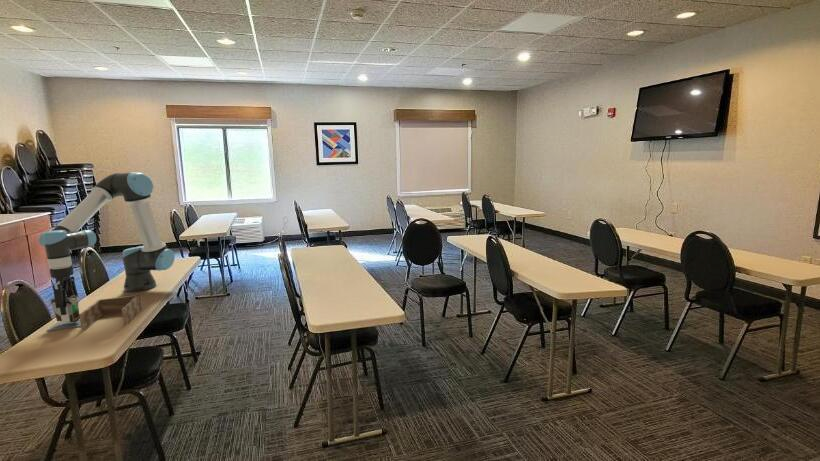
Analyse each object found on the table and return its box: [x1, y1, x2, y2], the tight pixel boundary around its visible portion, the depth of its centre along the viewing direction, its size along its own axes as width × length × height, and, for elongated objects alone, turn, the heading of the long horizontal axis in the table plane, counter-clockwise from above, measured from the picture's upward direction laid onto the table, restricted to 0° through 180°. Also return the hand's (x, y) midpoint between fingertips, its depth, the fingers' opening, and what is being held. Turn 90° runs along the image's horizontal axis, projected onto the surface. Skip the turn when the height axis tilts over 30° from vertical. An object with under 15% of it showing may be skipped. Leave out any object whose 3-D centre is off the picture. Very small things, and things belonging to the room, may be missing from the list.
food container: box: [49, 295, 81, 323], centre depth 178 cm, size 12×6×10 cm, turn 76°
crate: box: [79, 294, 142, 331], centre depth 182 cm, size 20×16×7 cm
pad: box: [45, 319, 81, 332], centre depth 178 cm, size 9×14×1 cm, turn 108°
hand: (70, 318), depth 177 cm, fingers closed on food container, 7 cm apart
